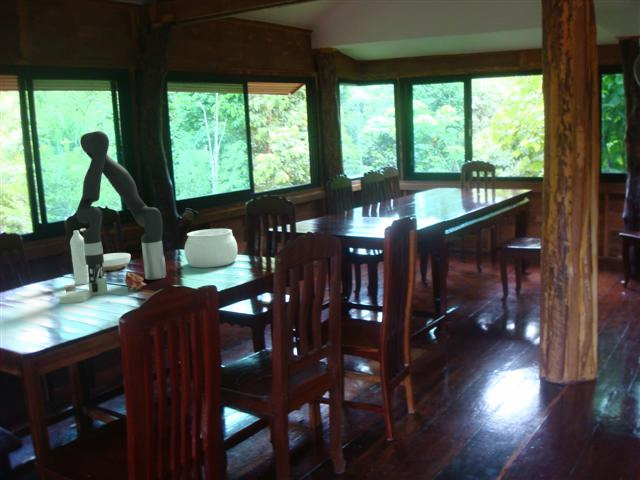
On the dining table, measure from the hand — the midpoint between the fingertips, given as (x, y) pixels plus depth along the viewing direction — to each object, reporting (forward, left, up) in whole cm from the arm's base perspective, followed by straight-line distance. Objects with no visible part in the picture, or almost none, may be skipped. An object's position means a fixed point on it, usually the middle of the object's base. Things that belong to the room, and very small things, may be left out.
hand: (98, 289), depth 296 cm
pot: (-44, -49, -2) cm, 66 cm away
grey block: (+12, -1, -2) cm, 12 cm away
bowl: (+8, -56, -2) cm, 57 cm away
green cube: (0, 0, -2) cm, 2 cm away
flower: (-16, -1, -2) cm, 16 cm away
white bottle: (+13, -24, -2) cm, 27 cm away
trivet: (+7, +9, -2) cm, 11 cm away
